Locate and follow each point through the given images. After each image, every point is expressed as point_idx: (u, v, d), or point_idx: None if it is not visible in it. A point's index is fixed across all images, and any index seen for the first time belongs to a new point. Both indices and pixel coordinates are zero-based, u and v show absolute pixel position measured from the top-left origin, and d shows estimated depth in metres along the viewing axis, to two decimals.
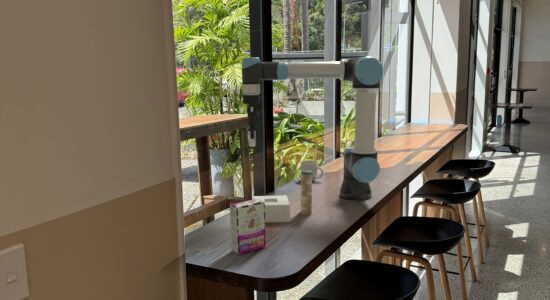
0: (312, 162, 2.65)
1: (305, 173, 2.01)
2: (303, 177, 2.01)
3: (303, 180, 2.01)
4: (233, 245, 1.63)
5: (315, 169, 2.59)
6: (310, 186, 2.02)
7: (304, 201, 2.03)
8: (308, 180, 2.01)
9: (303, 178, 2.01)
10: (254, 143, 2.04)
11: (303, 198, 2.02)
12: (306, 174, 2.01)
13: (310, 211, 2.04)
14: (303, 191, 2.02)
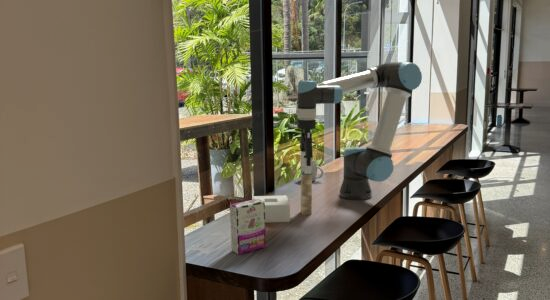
0: (312, 162, 2.65)
1: None
2: (303, 177, 2.01)
3: (303, 180, 2.01)
4: (233, 245, 1.63)
5: (315, 169, 2.59)
6: (310, 186, 2.02)
7: (304, 201, 2.03)
8: (308, 180, 2.01)
9: (303, 178, 2.01)
10: (310, 170, 1.95)
11: (303, 198, 2.02)
12: (306, 174, 2.01)
13: (310, 211, 2.04)
14: (303, 191, 2.02)
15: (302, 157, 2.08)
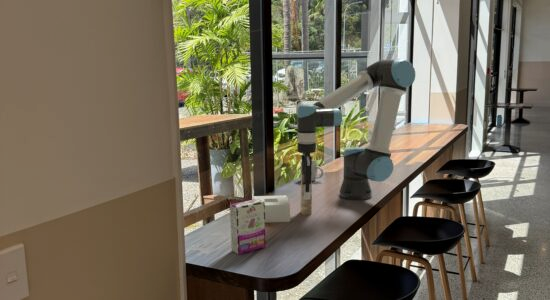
0: (312, 162, 2.65)
1: None
2: (303, 177, 2.01)
3: (303, 180, 2.01)
4: (233, 245, 1.63)
5: (315, 169, 2.59)
6: (310, 186, 2.02)
7: (304, 201, 2.03)
8: None
9: (303, 178, 2.01)
10: (309, 196, 2.02)
11: (303, 198, 2.02)
12: None
13: (310, 211, 2.04)
14: (303, 191, 2.02)
15: None
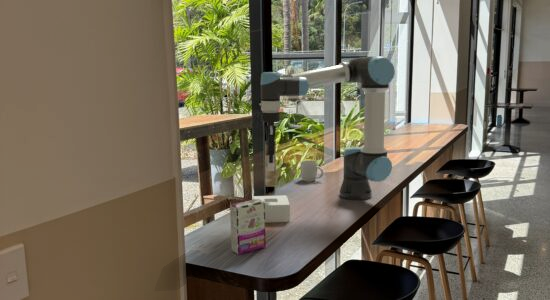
0: (312, 162, 2.65)
1: None
2: (267, 147, 1.94)
3: (267, 150, 1.94)
4: (233, 245, 1.63)
5: (315, 169, 2.59)
6: (274, 157, 1.95)
7: (268, 172, 1.95)
8: None
9: (267, 148, 1.94)
10: (273, 167, 1.94)
11: None
12: None
13: (274, 183, 1.96)
14: None
15: None
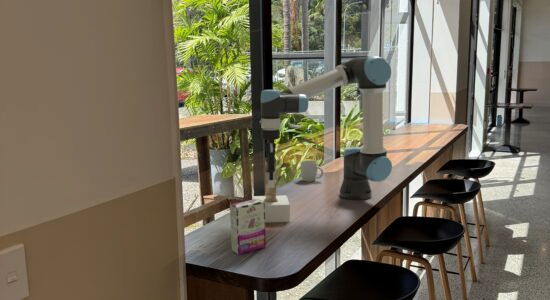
0: (312, 162, 2.65)
1: None
2: (267, 164, 1.95)
3: (267, 167, 1.95)
4: (233, 245, 1.63)
5: (315, 169, 2.59)
6: (274, 174, 1.96)
7: (268, 189, 1.97)
8: None
9: (267, 165, 1.95)
10: (273, 184, 1.96)
11: (267, 186, 1.96)
12: None
13: (274, 200, 1.98)
14: (267, 179, 1.96)
15: None
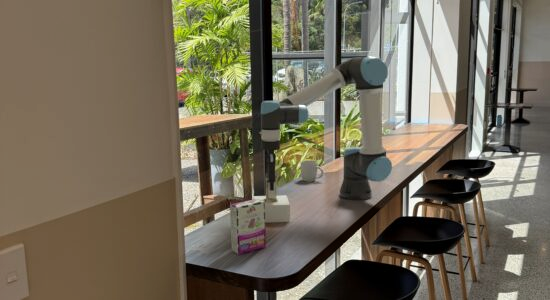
0: (312, 162, 2.65)
1: None
2: (267, 180, 1.96)
3: (267, 183, 1.96)
4: (233, 245, 1.63)
5: (315, 169, 2.59)
6: (275, 189, 1.97)
7: None
8: None
9: None
10: (274, 195, 1.94)
11: None
12: None
13: None
14: (267, 195, 1.97)
15: None
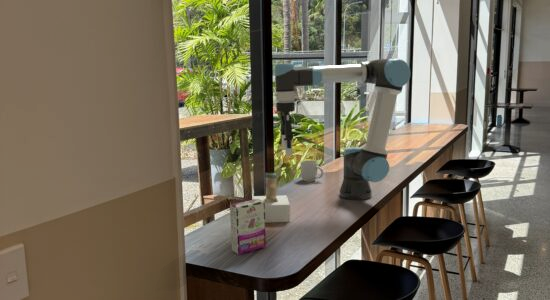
0: (312, 162, 2.65)
1: (269, 176, 1.96)
2: (267, 180, 1.96)
3: (267, 183, 1.96)
4: (233, 245, 1.63)
5: (315, 169, 2.59)
6: (274, 189, 1.97)
7: None
8: (272, 183, 1.96)
9: (267, 181, 1.96)
10: (291, 152, 1.96)
11: None
12: (270, 177, 1.96)
13: None
14: (267, 194, 1.97)
15: (283, 140, 2.09)
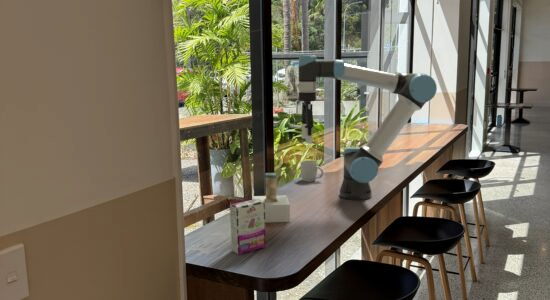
0: (312, 162, 2.65)
1: (269, 176, 1.96)
2: (267, 180, 1.96)
3: (267, 183, 1.96)
4: (233, 245, 1.63)
5: (315, 169, 2.59)
6: (274, 189, 1.97)
7: None
8: (272, 183, 1.96)
9: (267, 181, 1.96)
10: (311, 140, 2.06)
11: None
12: (270, 177, 1.96)
13: None
14: (267, 194, 1.97)
15: (303, 129, 2.19)
